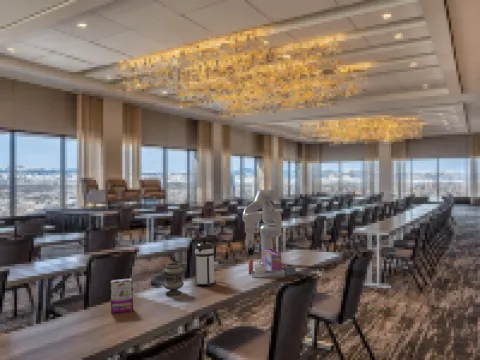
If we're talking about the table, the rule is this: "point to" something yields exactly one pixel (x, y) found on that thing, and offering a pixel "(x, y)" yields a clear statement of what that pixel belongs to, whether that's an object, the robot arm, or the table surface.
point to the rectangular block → (270, 273)
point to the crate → (259, 269)
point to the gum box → (271, 260)
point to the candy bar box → (121, 295)
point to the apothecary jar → (173, 278)
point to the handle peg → (250, 266)
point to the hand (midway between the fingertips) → (250, 253)
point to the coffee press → (204, 263)
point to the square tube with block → (289, 269)
